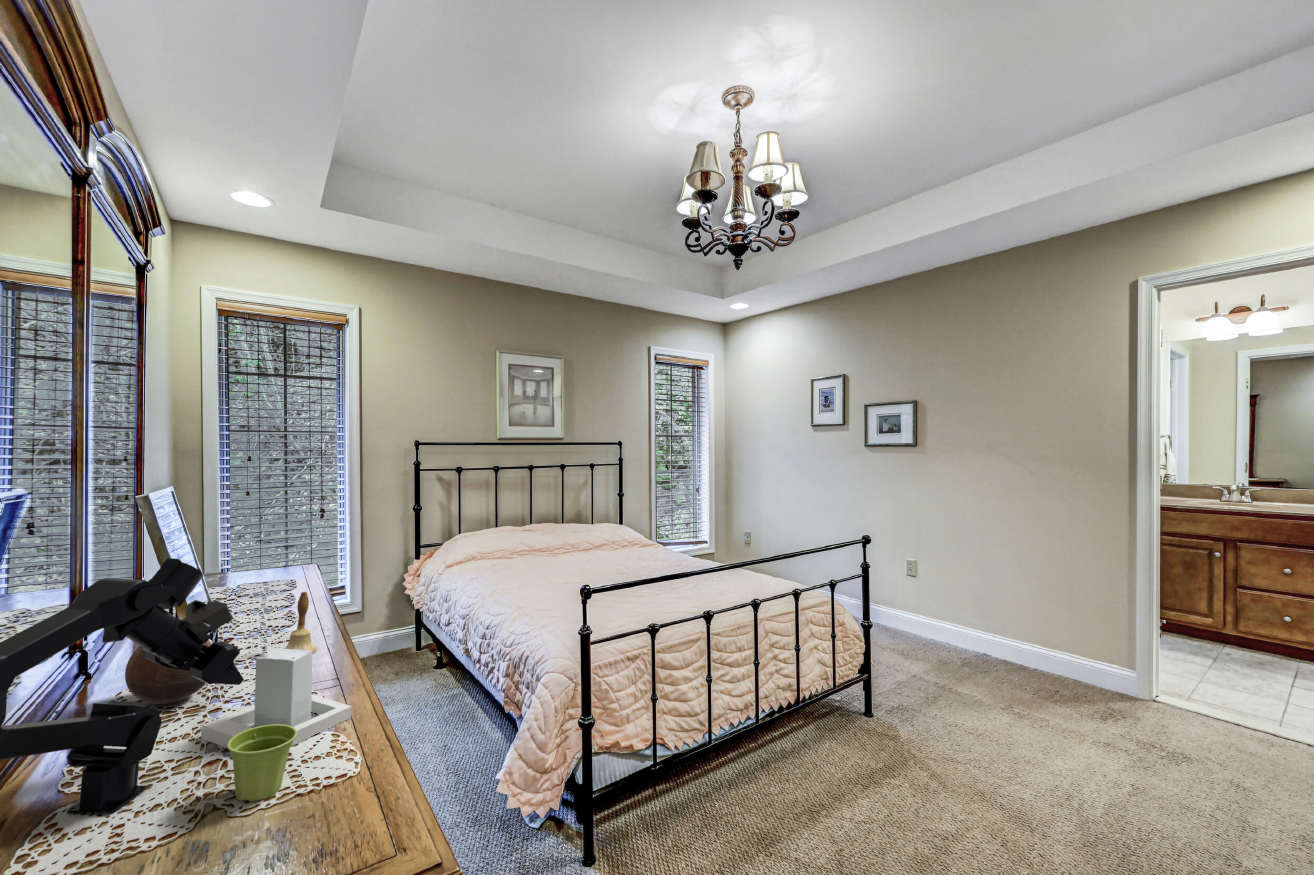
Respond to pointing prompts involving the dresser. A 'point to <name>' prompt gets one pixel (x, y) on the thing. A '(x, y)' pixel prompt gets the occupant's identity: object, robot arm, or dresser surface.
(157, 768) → the dresser surface
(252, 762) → the plant pot
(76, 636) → the robot arm
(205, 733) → the white square frame
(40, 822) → the dresser surface
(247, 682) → the dresser surface
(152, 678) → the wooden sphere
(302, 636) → the hand bell
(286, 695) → the skincare box
